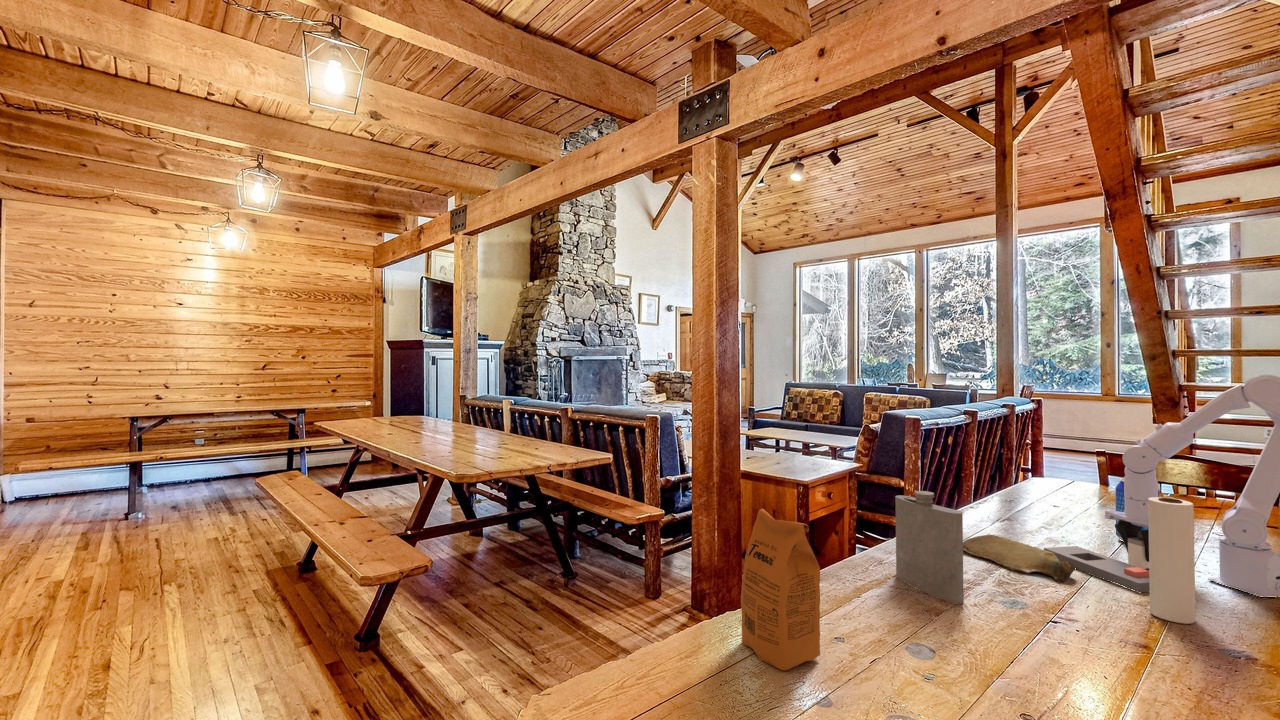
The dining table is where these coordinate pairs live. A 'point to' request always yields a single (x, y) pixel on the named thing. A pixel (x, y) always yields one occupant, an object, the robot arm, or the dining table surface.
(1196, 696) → the dining table surface
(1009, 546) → the stone tool
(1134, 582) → the power strip
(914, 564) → the hip flask
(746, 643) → the coffee package
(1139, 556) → the plug
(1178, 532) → the paper towel roll
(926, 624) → the dining table surface
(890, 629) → the dining table surface
